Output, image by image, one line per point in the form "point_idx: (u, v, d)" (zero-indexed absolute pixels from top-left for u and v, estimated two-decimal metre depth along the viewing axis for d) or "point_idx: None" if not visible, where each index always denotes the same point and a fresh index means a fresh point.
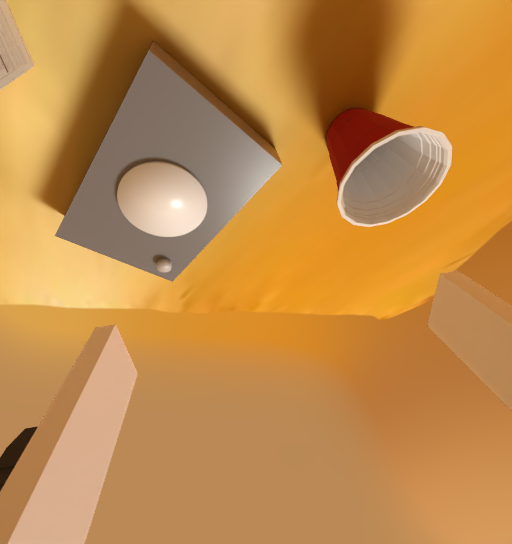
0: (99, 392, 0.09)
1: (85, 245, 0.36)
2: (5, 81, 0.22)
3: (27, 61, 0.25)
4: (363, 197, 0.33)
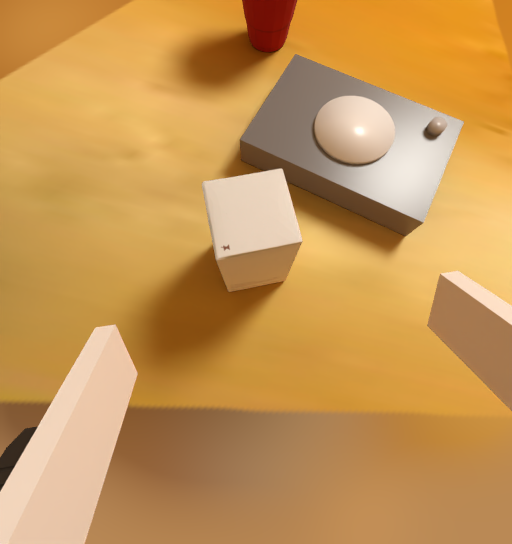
0: (99, 392, 0.09)
1: (429, 198, 0.33)
2: None
3: None
4: None
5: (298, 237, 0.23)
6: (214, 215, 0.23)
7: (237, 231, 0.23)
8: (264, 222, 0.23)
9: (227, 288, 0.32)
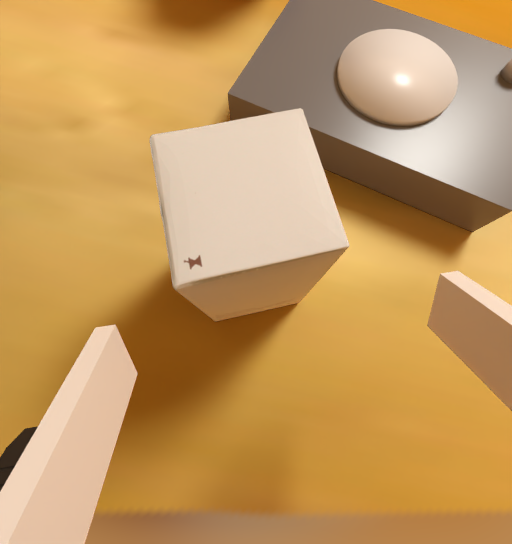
0: (99, 392, 0.09)
1: None
2: None
3: None
4: None
5: (341, 238, 0.11)
6: (172, 197, 0.12)
7: (217, 228, 0.11)
8: (272, 210, 0.11)
9: (211, 318, 0.21)
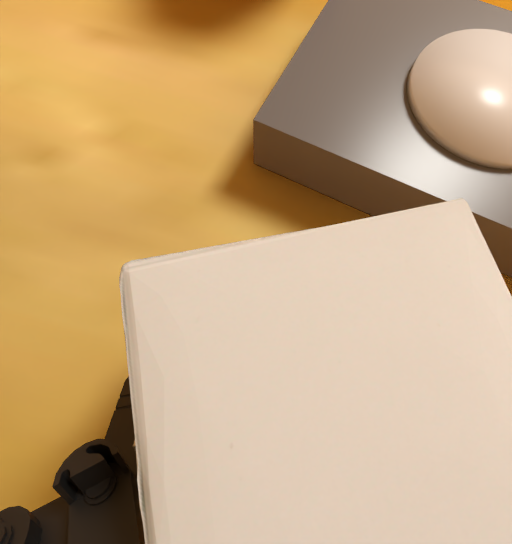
0: None
1: None
2: None
3: None
4: None
5: None
6: (169, 456, 0.04)
7: None
8: (443, 508, 0.04)
9: None
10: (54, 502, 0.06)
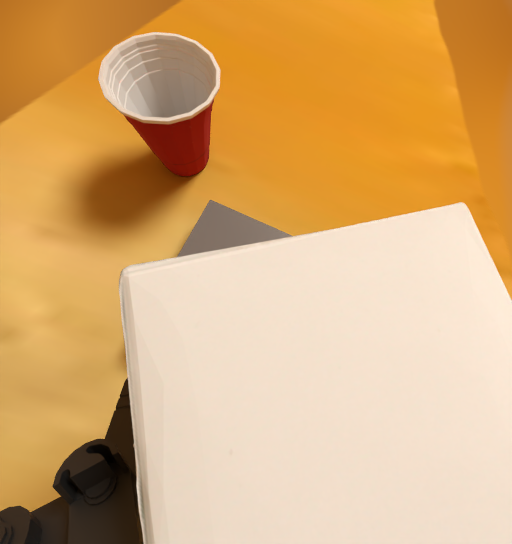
0: None
1: None
2: None
3: None
4: None
5: None
6: (168, 461, 0.04)
7: None
8: (442, 514, 0.04)
9: None
10: (54, 502, 0.06)
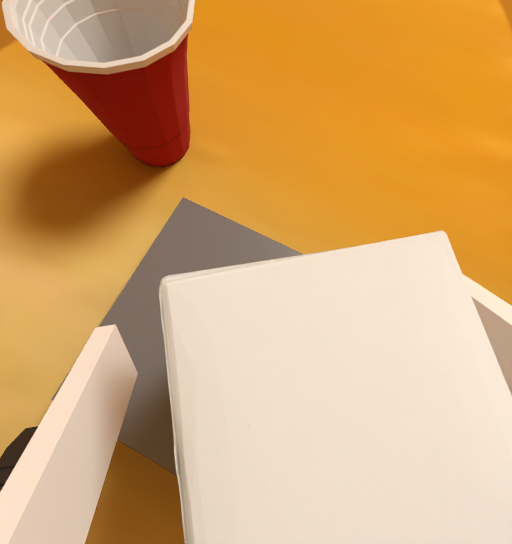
0: (99, 392, 0.09)
1: None
2: None
3: None
4: None
5: None
6: (199, 432, 0.06)
7: (297, 526, 0.05)
8: (412, 479, 0.05)
9: None
10: None
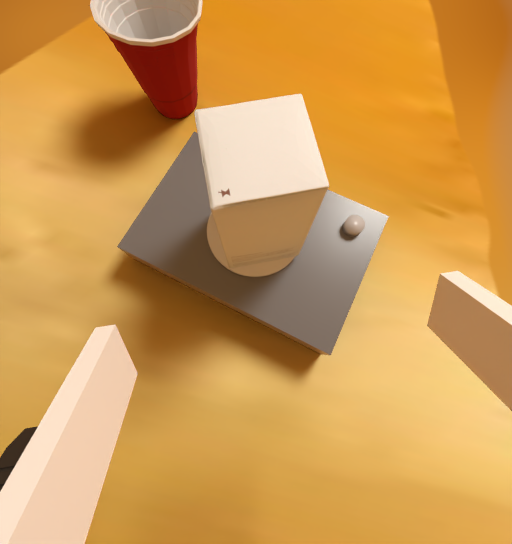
0: (99, 392, 0.09)
1: (340, 321, 0.27)
2: None
3: None
4: None
5: (323, 180, 0.17)
6: (210, 151, 0.17)
7: (240, 172, 0.17)
8: (278, 161, 0.17)
9: (228, 262, 0.26)
10: None
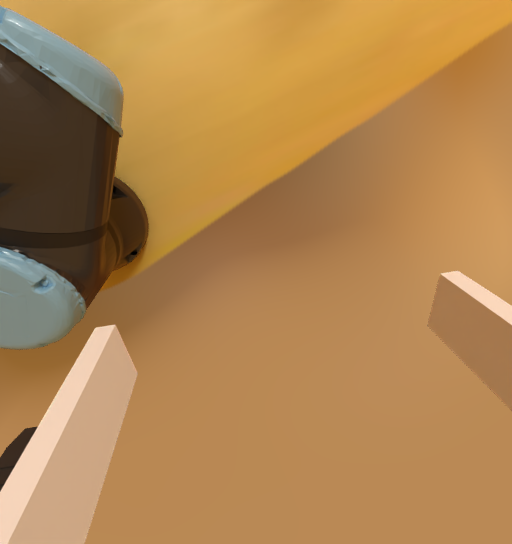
0: (99, 392, 0.09)
1: None
2: None
3: None
4: None
5: None
6: None
7: None
8: None
9: None
10: None
